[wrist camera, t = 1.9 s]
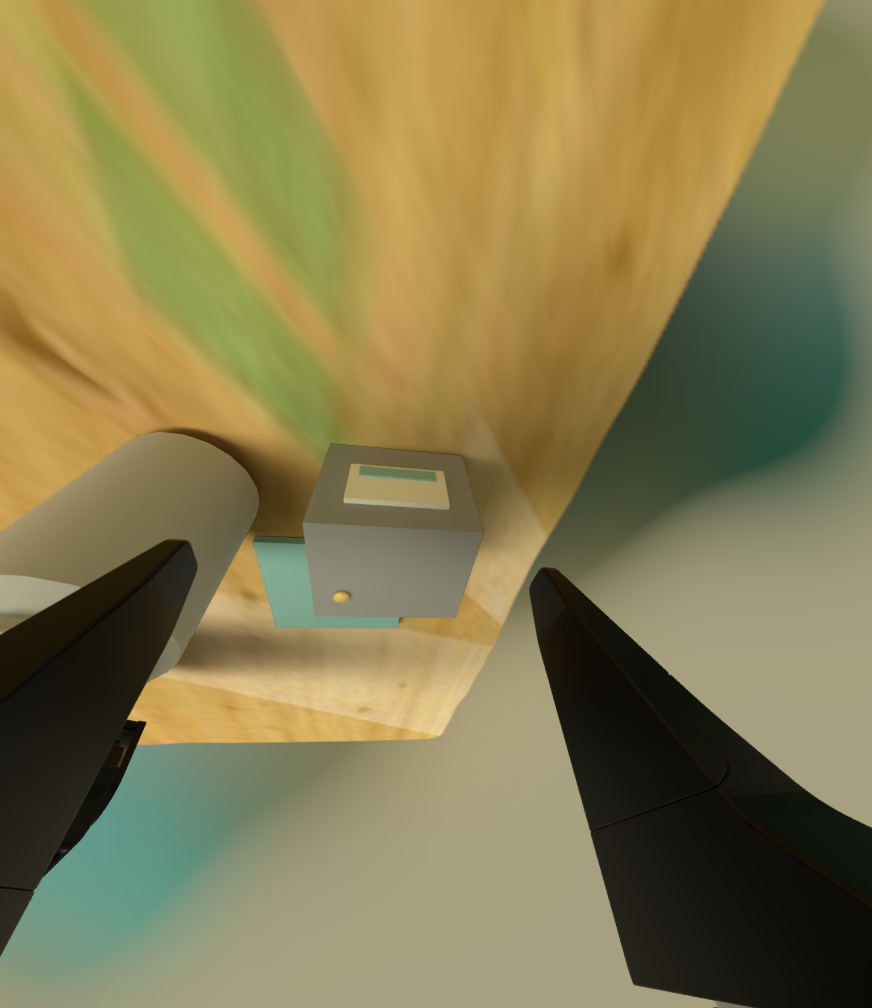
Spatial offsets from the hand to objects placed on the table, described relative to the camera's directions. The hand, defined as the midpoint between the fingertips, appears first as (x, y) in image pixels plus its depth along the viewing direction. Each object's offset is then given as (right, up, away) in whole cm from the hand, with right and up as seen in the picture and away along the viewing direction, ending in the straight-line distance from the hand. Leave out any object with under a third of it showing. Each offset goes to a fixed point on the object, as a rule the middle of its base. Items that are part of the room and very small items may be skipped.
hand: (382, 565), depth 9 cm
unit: (-1, +2, +13) cm, 14 cm away
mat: (-7, -5, +19) cm, 21 cm away
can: (-13, +3, +12) cm, 18 cm away
